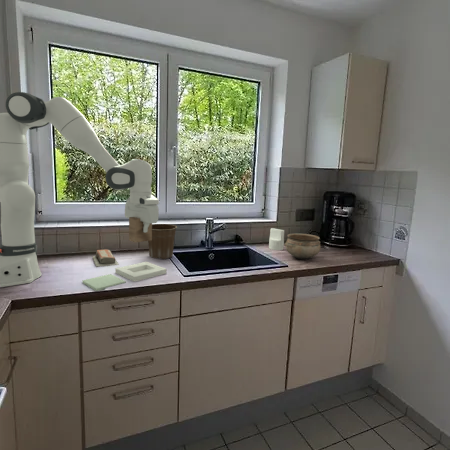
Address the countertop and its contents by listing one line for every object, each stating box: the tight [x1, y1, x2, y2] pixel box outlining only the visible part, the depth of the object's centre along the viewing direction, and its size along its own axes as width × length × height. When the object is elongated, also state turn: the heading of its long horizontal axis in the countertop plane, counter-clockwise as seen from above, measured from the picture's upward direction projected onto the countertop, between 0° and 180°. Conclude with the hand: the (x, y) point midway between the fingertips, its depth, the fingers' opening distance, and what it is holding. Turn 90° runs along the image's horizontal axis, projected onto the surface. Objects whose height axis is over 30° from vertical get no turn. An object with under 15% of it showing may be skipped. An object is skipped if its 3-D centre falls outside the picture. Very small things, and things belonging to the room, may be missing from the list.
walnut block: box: [128, 217, 153, 244], centre depth 135 cm, size 8×5×10 cm, turn 138°
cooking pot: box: [284, 232, 321, 261], centre depth 174 cm, size 25×19×12 cm
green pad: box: [81, 273, 127, 292], centre depth 125 cm, size 12×12×1 cm
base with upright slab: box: [268, 227, 285, 251], centre depth 195 cm, size 9×9×12 cm
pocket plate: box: [114, 261, 167, 282], centre depth 138 cm, size 16×15×2 cm
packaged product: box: [92, 249, 120, 268], centre depth 154 cm, size 18×5×10 cm
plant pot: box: [147, 223, 178, 260], centre depth 166 cm, size 16×16×16 cm
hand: (140, 230), depth 135 cm, fingers closed on walnut block, 5 cm apart
